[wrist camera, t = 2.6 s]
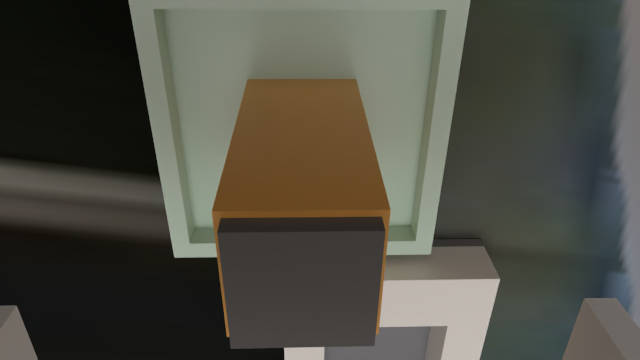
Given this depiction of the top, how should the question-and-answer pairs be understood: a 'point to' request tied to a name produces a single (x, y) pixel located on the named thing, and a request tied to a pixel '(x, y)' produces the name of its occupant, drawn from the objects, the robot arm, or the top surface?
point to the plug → (301, 218)
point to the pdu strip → (427, 307)
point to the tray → (300, 63)
